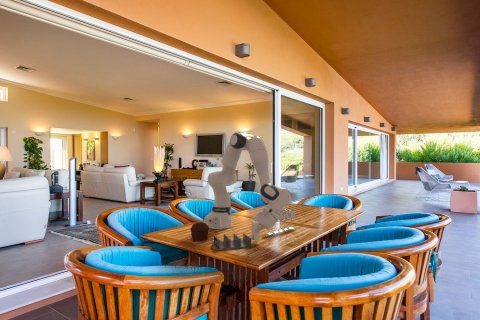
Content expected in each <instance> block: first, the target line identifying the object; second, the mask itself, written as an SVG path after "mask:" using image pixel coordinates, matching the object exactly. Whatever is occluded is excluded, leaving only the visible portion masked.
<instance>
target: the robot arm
mask: <svg viewBox="0 0 480 320" xmlns="http://www.w3.org/2000/svg"><path fill="white" fill-rule="evenodd" d="M243 151H244V152H247V151H248V155H249V158H250V160H251V163H252V165H253V168H254V170H255V172H256V174H257V176H258V178H259V182H260V186H261V187H260V191H259V192H260V200H261V202H262V203H263V204H264V205H266V206H264V208H263V209H262V210H259V211H258V212H257V213H256V214H254V216H253V217H252V221H257V222H259V223H260V227H259V228H257V229H256V230H255V231H256V232H257V233H259V231H260V232H261V231H262V230H264V229H266V230H268V231H270V230H271V229H272V228H273V227H275V226H276V224H277V222H278V221H279V222H280V216H279V214H280V213H281V211H284V210H285V209H286V208H287V207H288V205H289V204H290V203H291V201H292V197H293V196H292V193H291V192H290V191H289V190H288V189H287V188H286V187H279V186H277V185H275V184H272V182H271V179H270V174H269V155H268V150H267V146H266V144H265V142H264V141H263V139H262V137H259V136H257V135H253V134H249V133H243V132H234V133H232V135H231V136H230V138H229V142H228V143H227V145H226V148H225V149H224V152H223V155H222V158H221V160H220V162H221V165H222V169H221V170H220V171H219V170H217V171H213V172H210V173H208V175H207V183H208V185H209V186H210V187H211V189H212V191H213V194H214V195H213V196H214V205H213V206H212V207H211V212H209V213H208V214H207V215H206V216H205V217H204V219H203V223H205V224H207V225H208V227H209V229H212V230H222V229H223V230H224V229H230V228H233V221H232V207H231V193H229V192H228V190H227V187H230V186H232V185H235V184H236V183H237V181H238V176H237V174H236V172H237V171H236V169H237V165H238V163H239V160H240V158H241V154H242V152H243ZM275 223H276V224H275Z"/></svg>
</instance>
